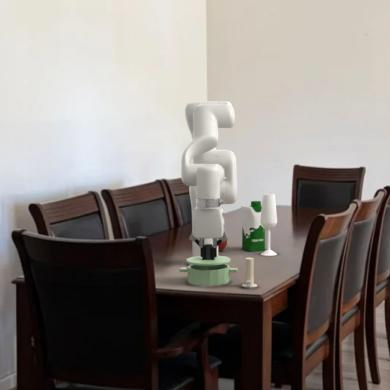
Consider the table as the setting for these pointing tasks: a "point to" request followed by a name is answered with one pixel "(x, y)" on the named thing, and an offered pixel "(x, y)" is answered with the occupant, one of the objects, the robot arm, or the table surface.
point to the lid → (208, 258)
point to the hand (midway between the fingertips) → (208, 258)
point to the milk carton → (252, 227)
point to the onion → (222, 245)
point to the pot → (208, 274)
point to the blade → (249, 273)
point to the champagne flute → (268, 218)
